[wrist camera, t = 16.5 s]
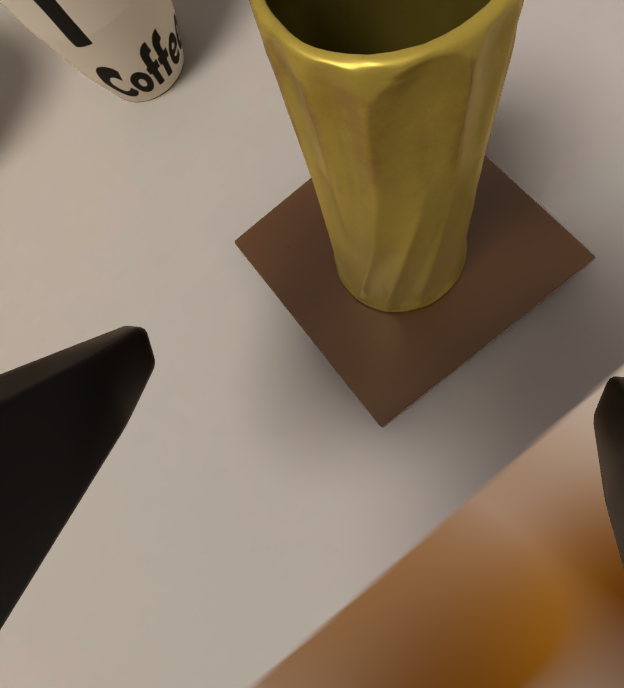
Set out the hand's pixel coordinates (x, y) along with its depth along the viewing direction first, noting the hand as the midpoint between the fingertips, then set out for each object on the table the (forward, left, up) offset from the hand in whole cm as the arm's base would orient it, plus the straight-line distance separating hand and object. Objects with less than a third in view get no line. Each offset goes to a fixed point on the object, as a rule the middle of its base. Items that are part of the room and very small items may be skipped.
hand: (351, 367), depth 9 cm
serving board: (+5, -5, -13) cm, 15 cm away
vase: (+5, -5, -12) cm, 14 cm away
